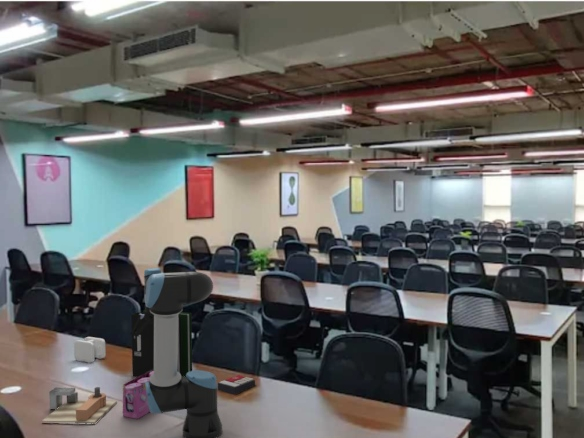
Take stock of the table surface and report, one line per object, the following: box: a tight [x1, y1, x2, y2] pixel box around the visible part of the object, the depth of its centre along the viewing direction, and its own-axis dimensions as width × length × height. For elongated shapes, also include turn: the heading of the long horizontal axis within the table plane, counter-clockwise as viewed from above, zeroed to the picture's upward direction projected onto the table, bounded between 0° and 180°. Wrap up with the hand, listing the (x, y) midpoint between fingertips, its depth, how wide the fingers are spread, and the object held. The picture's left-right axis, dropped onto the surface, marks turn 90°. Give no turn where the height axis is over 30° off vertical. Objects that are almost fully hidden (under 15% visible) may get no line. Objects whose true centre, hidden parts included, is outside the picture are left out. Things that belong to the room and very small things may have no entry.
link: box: [76, 392, 107, 420], centre depth 219 cm, size 18×7×4 cm, turn 176°
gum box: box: [122, 369, 154, 420], centre depth 225 cm, size 24×8×14 cm, turn 158°
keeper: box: [48, 387, 79, 410], centre depth 227 cm, size 7×9×8 cm
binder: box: [130, 309, 193, 378], centre depth 266 cm, size 27×15×32 cm, turn 67°
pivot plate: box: [41, 386, 118, 425], centre depth 220 cm, size 22×22×9 cm
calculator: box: [217, 374, 256, 396], centre depth 249 cm, size 11×4×15 cm
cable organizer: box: [73, 336, 106, 364], centre depth 295 cm, size 15×11×12 cm
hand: (154, 350), depth 233 cm, fingers open, 13 cm apart
